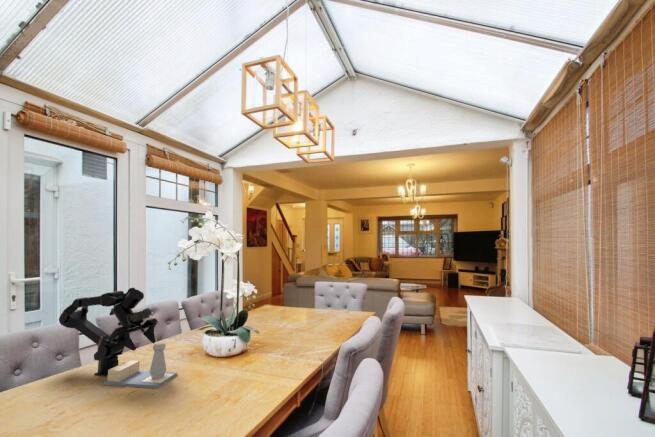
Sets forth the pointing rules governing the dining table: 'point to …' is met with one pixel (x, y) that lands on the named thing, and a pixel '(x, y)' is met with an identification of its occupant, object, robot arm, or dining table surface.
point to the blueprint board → (135, 376)
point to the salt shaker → (158, 362)
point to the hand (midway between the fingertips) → (145, 346)
